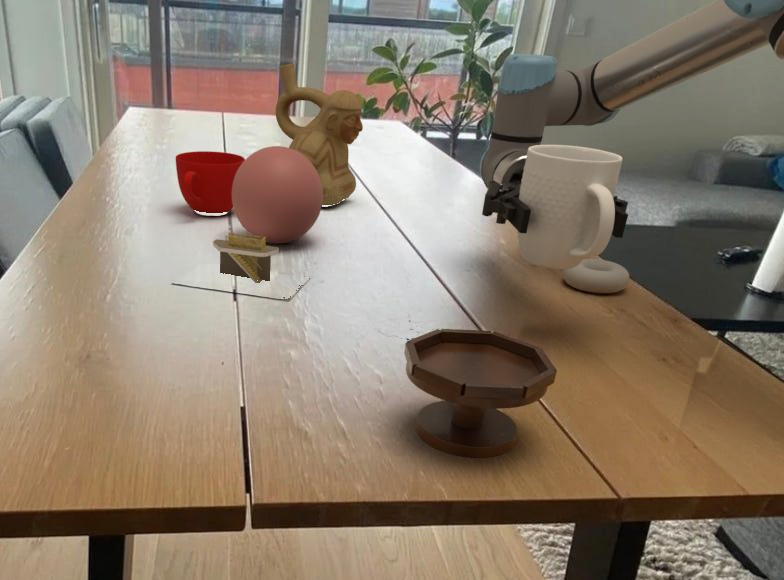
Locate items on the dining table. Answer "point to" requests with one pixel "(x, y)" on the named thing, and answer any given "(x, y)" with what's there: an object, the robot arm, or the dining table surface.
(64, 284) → the dining table surface
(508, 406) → the cake stand
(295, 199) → the pink ball
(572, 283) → the donut
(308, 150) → the ceramic vessel
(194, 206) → the ceramic cup
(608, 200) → the mug
